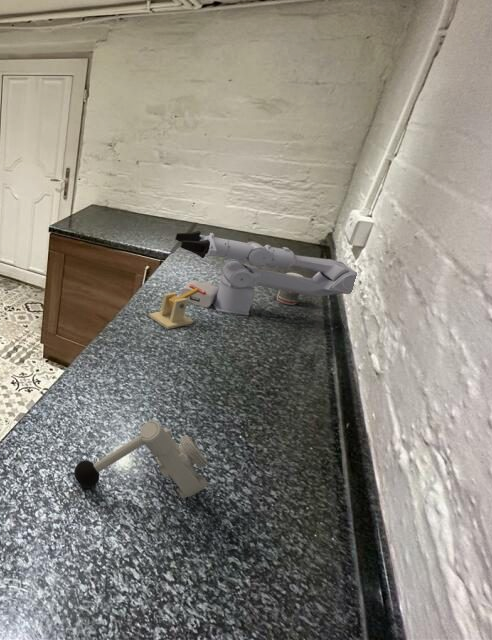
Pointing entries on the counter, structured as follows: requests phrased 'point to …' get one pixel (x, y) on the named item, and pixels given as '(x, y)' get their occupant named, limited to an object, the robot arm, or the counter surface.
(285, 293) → the pill bottle
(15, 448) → the counter surface
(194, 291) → the lever
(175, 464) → the valve
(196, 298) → the charger
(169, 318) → the bracket
